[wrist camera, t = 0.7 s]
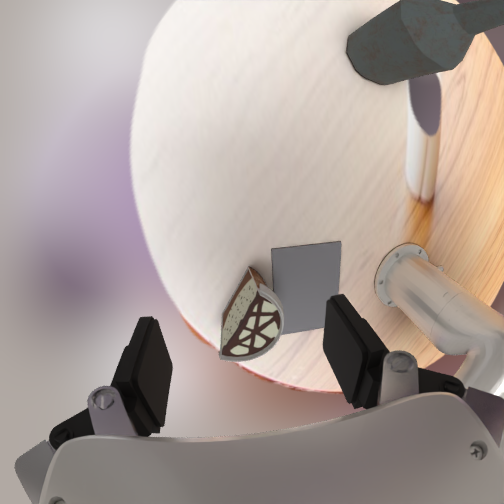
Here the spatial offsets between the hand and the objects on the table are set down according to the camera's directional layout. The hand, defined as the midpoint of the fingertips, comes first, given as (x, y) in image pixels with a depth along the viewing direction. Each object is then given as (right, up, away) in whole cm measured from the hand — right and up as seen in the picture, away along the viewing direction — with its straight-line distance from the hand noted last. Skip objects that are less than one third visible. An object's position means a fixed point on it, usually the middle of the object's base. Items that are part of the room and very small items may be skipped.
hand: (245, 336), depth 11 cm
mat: (+9, -3, +32) cm, 33 cm away
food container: (0, -4, +32) cm, 32 cm away
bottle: (+19, +34, +19) cm, 43 cm away
